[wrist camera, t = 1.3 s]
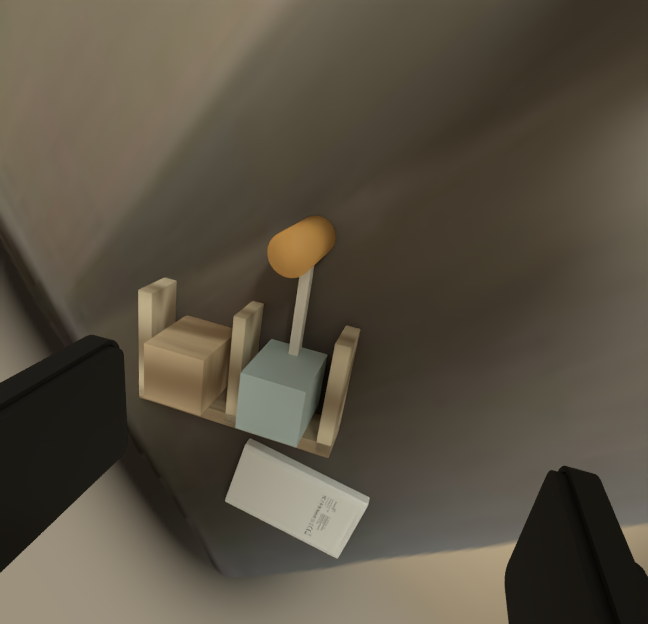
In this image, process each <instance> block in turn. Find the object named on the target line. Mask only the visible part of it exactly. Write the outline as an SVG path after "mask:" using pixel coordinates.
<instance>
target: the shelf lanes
mask: <svg viewBox="0 0 648 624" xmlns="http://www.w3.org/2000/svg"><path fill="white" fill-rule="evenodd" d="M176 292H177V281H176V280H172V279H168V278H162V279H160V280H158V281H156V282H154V283H152V284H150V285H148V286H146V287H144V288H142V289H139V290H138V307H139V397H140V398H143V399H146V398H144V343H145V342H146V341H148V340H150V339H151V338H153V337H154V336H156V335H157V334H159V333H160V332H162V331H163V330H165V329H166V328H168V327H169V326H171V325H172V324H174V323H175V322H176ZM263 307H264V304H263V303H260V302H256V301H252V302H250V303H249V304H248V305H247V306H245V307H244V308H243V309H242V310H241V311H239V312H238V313H237V314H236V315H234V319H233V331H232V342H231V354H230V365H229V377H228V387H226V389H225V390H224V391H223V392H222V393H221V394H220V395H219V396H218V397H217V398H216V399H215V401H214V402H213V403H212V404H211V405H210V406H209V407H208V408H207V409H206V410H205V411H204V413H203V414H202V415H201V416H199V415H196V414H193V413H190V412H187V413H190V414H193V415H196V416H199V417H202V418H205V419H208V420H211V421H215V422H218V423H221V424H224V425H227V426H230V427H233V428H235V425H236V415H237V404H238V394H239V384H240V374H241V372H242V371H243V369H244V368H245V367H246V366H247V365H248V364H249V363H250V362H251V361H252V360H253V358H254V357H255V356H256V355H257V354H258V351H259V342H260V333H261V325H262V316H263ZM360 330H361V329H358V328H355V327H351V326H347V325H346V326H345V328H344V330H343V331H342V333H341V335H340V336H339V338H338V340H337V342H336V343H335V348H334V353H333V358H332V364H331V369H330V374H329V379H328V384H327V390H326V395H325V400H324V405H323V410H322V415H318V414H315V413H314V414H313V416H312V418H311V420H310V422H309V424H308V426H307V428H306V430H305V432H304V434H303V436H302V438H301V440H300V442H299V444H298V446H297V448H299V449H302V450H305V451H308V452H311V453H314V454H317V455H320V456H323V457H326V458H329V455H330V452H331V450H332V447H333V445H334V442H335V440H336V437H337V435H338V432H339V427H340V423H341V418H342V414H343V409H344V404H345V400H346V395H347V390H348V386H349V381H350V376H351V372H352V367H353V362H354V358H355V353H356V348H357V344H358V339H359V334H360ZM146 400H149V399H146ZM149 401H152V400H149ZM152 402H155V401H152ZM156 403H158V402H156ZM159 404H162V403H159ZM162 405H165V404H162ZM165 406H168V405H165ZM168 407H171V406H168ZM171 408H174V407H171ZM174 409H177V408H174ZM177 410H180V409H177ZM180 411H183V410H180ZM184 412H186V411H184ZM236 429H237V428H236ZM239 430H240V429H239ZM255 435H256V434H255ZM258 436H259V435H258ZM261 437H262V436H261ZM264 438H265V437H264ZM267 439H268V438H267ZM283 444H284V443H283ZM286 445H287V444H286ZM289 446H290V445H289ZM292 447H293V446H292ZM295 448H296V447H295Z"/></svg>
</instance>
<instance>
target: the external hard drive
mask: <svg viewBox="0 0 648 624" xmlns="http://www.w3.org/2000/svg"><path fill="white" fill-rule="evenodd" d="M369 499H370V497H368V496H366V495H364V494H362V493H360V492H358V491H355V490H353V489H351V488H349V487H347V486H345V485H343V484H342V483H340V482H338V481H335V480H333V479H331V478H329V477H327V476H325V475H323V474H321V473H319V472H317V471H315V470H313V469H311V468H310V467H308V466H305V465H303V464H301V463H299V462H297V461H295V460H293V459H291V458H289V457H287V456H285V455H284V454H282V453H279V452H277V451H275V450H273V449H271V448H269V447H267V446H265V445H263V444H261V443H259V442H257V441H255V440H253V439H251V438H249V440H248V441H247V442H246V444H245V447H244V449H243V452H242V455H241V457H240V460H239V463H238V466H237V468H236V471H235V474H234V477H233V479H232V482H231V485H230V487H229V490H228V493H227V496H226V499H225V502H227V503H229V504H231V505H233V506H235V507H237V508H239V509H241V510H243V511H245V512H247V513H249V514H251V515H253V516H255V517H257V518H259V519H260V520H262V521H264V522H266V523H268V524H270V525H272V526H274V527H276V528H278V529H280V530H282V531H284V532H286V533H288V534H290V535H292V536H294V537H296V538H298V539H300V540H302V541H304V542H306V543H308V544H309V545H311V546H313V547H315V548H317V549H319V550H321V551H323V552H325V553H327V554H329V555H331V556H333V557H335V558H337V559H338V557H339V556H340V554H341V552H342V550H343V549H344V547H345V545H346V543H347V541H348V540H349V538H350V536H351V534H352V533H353V531H354V529H355V528H356V526H357V524H358V522H359V521H360V519H361V517H362V515H363V514H364V512H365V510H366V508H367V506H368V504H369Z"/></svg>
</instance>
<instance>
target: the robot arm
mask: <svg viewBox="0 0 648 624" xmlns="http://www.w3.org/2000/svg"><path fill="white" fill-rule="evenodd" d="M127 444H128V434H127V413H126V392H125V371H124V354H123V351H122V350H121V349H119V345H118V344H117V342H115V341H114V340H110V339H106V338H103V337H99V336H96V335H89V336H86V337H84V338H82V339H80V340H78V341H77V342H75V343H73V344H71V345H69V346H67V347H66V348H64V349H62V350H60V351H58V352H57V353H55V354H53V355H51V356H49V357H47V358H46V359H43V360H42V361H40V362H38V363H36V364H34V365H32V366H31V367H29V368H27V369H25V370H23V371H21V372H19V373H18V374H16V375H14V376H12V377H10V378H9V379H7V380H5V381H3V382H1V383H0V572H2V571H3V569H5V568H6V567H7V566H8V565H9V564H10V563H11V562H12V561H13V560H14V559H15V558H16V557H17V556H18V555H19V554H20V553H21V552H22V551H23V550H24V549H26V548H27V546H29V545H30V544H31V543H32V542H33V541H34V540H35V539H36V538H37V537H38V536H39V535H40V534H41V533H42V532H43V531H44V530H45V529H46V528H47V527H48V526H50V525H51V523H53V522H54V521H55V520H56V519H57V518H58V517H59V516H60V515H61V514H62V513H63V512H64V511H65V510H66V509H67V508H68V507H69V506H70V505H71V504H72V503H74V502H75V501H76V500H77V499H78V498H79V497H80V496H81V495H82V494H83V493H84V492H85V491H86V490H87V489H88V488H89V487H90V486H91V485H92V484H93V483H94V482H95V481H96V480H98V478H100V476H102V474H104V473H105V472H106V471H107V470H108V469H109V468H110V467H111V466H112V465H113V464H114V463H115V462H116V461H117V460H118V459H119V458H120V457H121V456H122V455H123V454H124V452H125V450H126V448H127ZM505 593H506V602H507V611H508V621H509V624H648V576H647V575H646V573H645V571H644V570H643V568H642V567H641V566H640V565H638V564H637V563H635V561H634V559H633V556H632V554H631V552H630V549H629V547H628V544H627V542H626V539H625V537H624V535H623V532H622V530H621V528H620V525H619V523H618V520H617V518H616V516H615V513H614V511H613V508H612V506H611V504H610V501H609V499H608V497H607V494H606V492H605V489H604V487H603V485H602V482H601V480H600V478H599V477H598V476H597V475H596V474H593V473H589V472H586V471H582V470H578V469H575V468H571V467H568V466H562V467H561V468H560V469H559V471H558V472H557V471H553V470H550V471H549V472H548V474H547V475H546V478H545V480H544V482H543V484H542V487H541V489H540V491H539V494H538V496H537V498H536V500H535V503H534V505H533V507H532V510H531V512H530V514H529V516H528V519H527V521H526V523H525V525H524V528H523V530H522V532H521V535H520V537H519V539H518V541H517V544H516V546H515V549H514V551H513V553H512V555H511V558H510V560H509V562H508V564H507V568H506V572H505Z"/></svg>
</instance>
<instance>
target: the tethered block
mask: <svg viewBox="0 0 648 624" xmlns="http://www.w3.org/2000/svg"><path fill="white" fill-rule="evenodd" d="M335 241H336V232H335V229H334V227H333V225H332V224H331V223H330V222H329V221H328V220H327V219H326V218H324V217H321V216H310V217H307V218H306V219H304V220H302V221H300V222H298V223H296V224H295V225H293V226H291V227H289V228H287V229H286V230H284V231H282V232H280V233H278V234H277V235H275V236H274V237H273V238H272V239H271V241H270V243H269V245H268V250H267V254H268V260H269V262H270V265H271V266H272V268H273V269H274V270H275V271H276V272H277V273H278V274H280V275H282V276H284V277H287V278H297V277H299V283H298V290H297V297H296V304H295V311H294V318H293V325H292V332H291V339H290V344H288V343H284V342H281V341H277V340H274V339H271V340H270V341H269V342H268V343H267V344H266V345H265V346H264V347H263V349H262V350H261V351H260V352H259V353H258V354H257V355H256V356H255V357H254V358H253V360H252V361H251V362H250V363H249V364H248V365H247V366H246V367H245V368H244V369H243V371H242V372H241V374H240V384H239V394H238V404H237V415H236V425H235V428H237V429H240V430H243V431H246V432H249V433H252V434H256V435H259V436H262V437H265V438H268V439H271V440H274V441H277V442H280V443H284V444H287V445H290V446H293V447H296V448H297V446H298V444H299V442H300V440H301V438H302V436H303V434H304V432H305V430H306V428H307V426H308V424H309V422H310V420H311V418H312V416H313V414H314V412H315V410H316V408H317V407H318V405H319V400H320V394H321V389H322V383H323V378H324V373H325V367H326V362H327V357H328V354H324V353H320V352H317V351H313V350H310V349H306V348H302V341H303V335H304V329H305V322H306V316H307V310H308V303H309V297H310V291H311V284H312V278H313V272H314V265H315V264H316V263H317V262H318V261H319V260H320V259H322V258H323V257H324V256H325V255H326V254H327V253H328V252H329V251H330V250H331V249H332V248H333V246H334V244H335Z"/></svg>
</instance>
